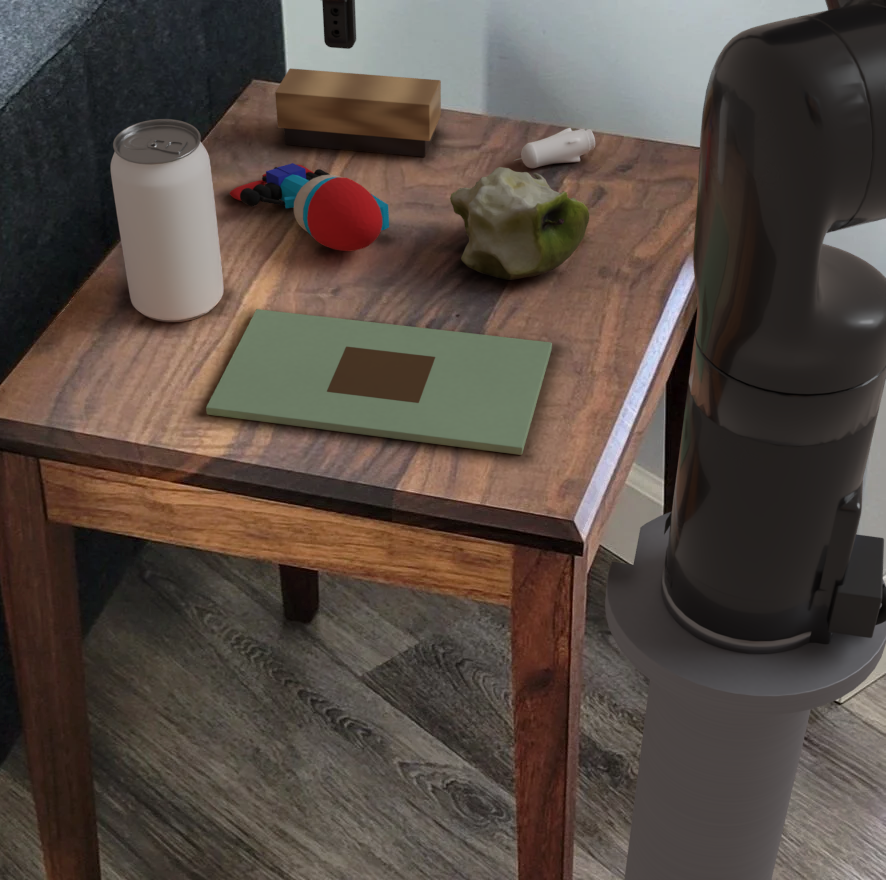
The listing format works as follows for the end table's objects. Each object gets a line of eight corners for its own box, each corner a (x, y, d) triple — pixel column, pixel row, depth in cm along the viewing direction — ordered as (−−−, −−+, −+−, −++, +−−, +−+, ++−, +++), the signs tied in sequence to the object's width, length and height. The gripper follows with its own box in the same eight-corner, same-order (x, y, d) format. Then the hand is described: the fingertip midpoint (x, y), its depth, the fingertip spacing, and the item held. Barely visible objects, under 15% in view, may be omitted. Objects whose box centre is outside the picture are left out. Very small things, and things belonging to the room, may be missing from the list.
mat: (551, 349, 106) (552, 341, 105) (522, 455, 98) (522, 447, 98) (256, 316, 110) (256, 308, 110) (206, 414, 103) (205, 406, 102)
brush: (441, 133, 127) (440, 79, 124) (430, 159, 124) (429, 104, 121) (293, 120, 130) (289, 68, 127) (279, 145, 127) (274, 92, 124)
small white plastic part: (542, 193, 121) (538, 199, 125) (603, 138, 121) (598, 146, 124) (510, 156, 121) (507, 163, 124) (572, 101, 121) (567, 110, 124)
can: (154, 266, 115) (131, 110, 107) (238, 279, 114) (222, 122, 105) (115, 317, 111) (89, 158, 103) (203, 331, 109) (183, 171, 101)
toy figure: (223, 218, 122) (330, 276, 111) (215, 154, 120) (325, 207, 109) (308, 194, 126) (421, 248, 115) (303, 131, 123) (418, 180, 112)
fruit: (594, 303, 112) (593, 215, 105) (458, 315, 113) (448, 229, 106) (584, 210, 117) (582, 121, 111) (454, 223, 118) (444, 135, 112)
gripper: (376, -170, 104) (382, 68, 115) (424, -244, 114) (425, -18, 125) (263, -175, 105) (279, 60, 117) (320, -248, 115) (330, -25, 126)
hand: (355, 19), depth 121 cm, fingers open, 8 cm apart
